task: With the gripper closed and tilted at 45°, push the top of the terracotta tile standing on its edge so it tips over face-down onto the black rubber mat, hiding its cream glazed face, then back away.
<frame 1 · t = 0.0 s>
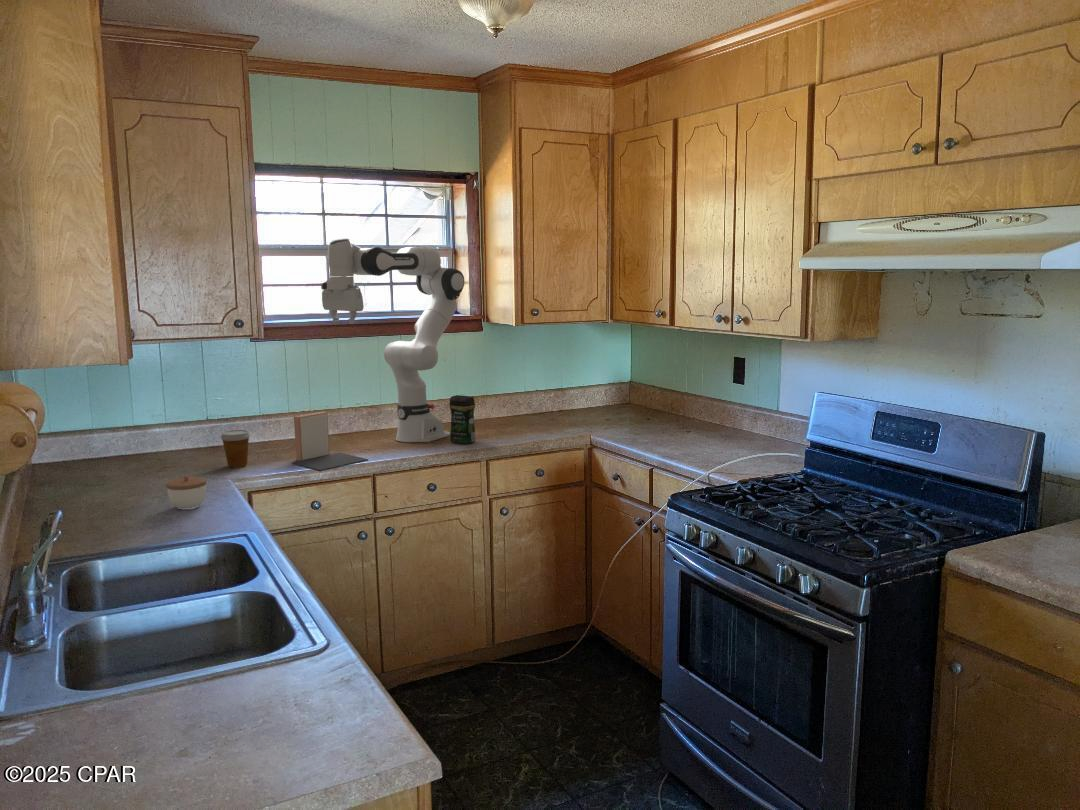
hand: (343, 323, 301), 48 cm above the countertop, tool pointing down, fingers open, 8 cm apart
disposable coffee cup: (237, 466, 290), on the countertop
tile: (313, 457, 302), on the countertop
lidded jar: (188, 507, 242), on the countertop
coffee jar: (463, 443, 325), on the countertop
mat: (330, 461, 295), on the countertop
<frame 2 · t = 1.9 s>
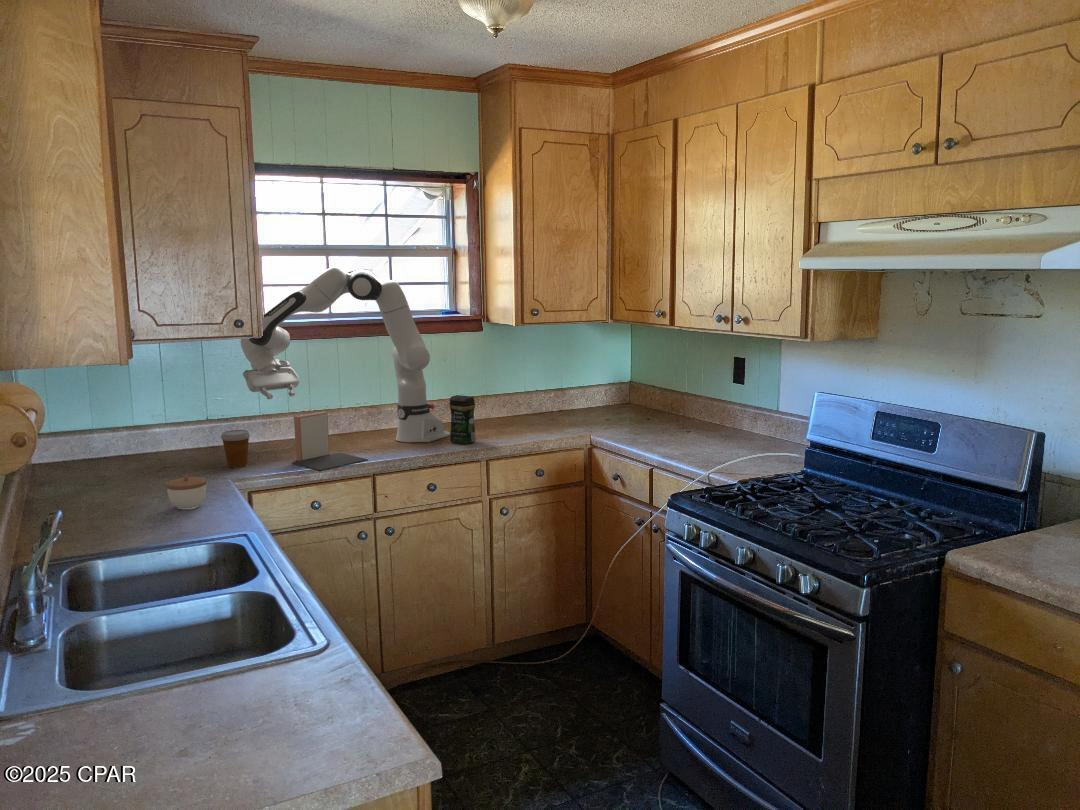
hand: (281, 396, 309), 21 cm above the countertop, tool tilted 45°, fingers open, 8 cm apart
nothing on the countertop moved.
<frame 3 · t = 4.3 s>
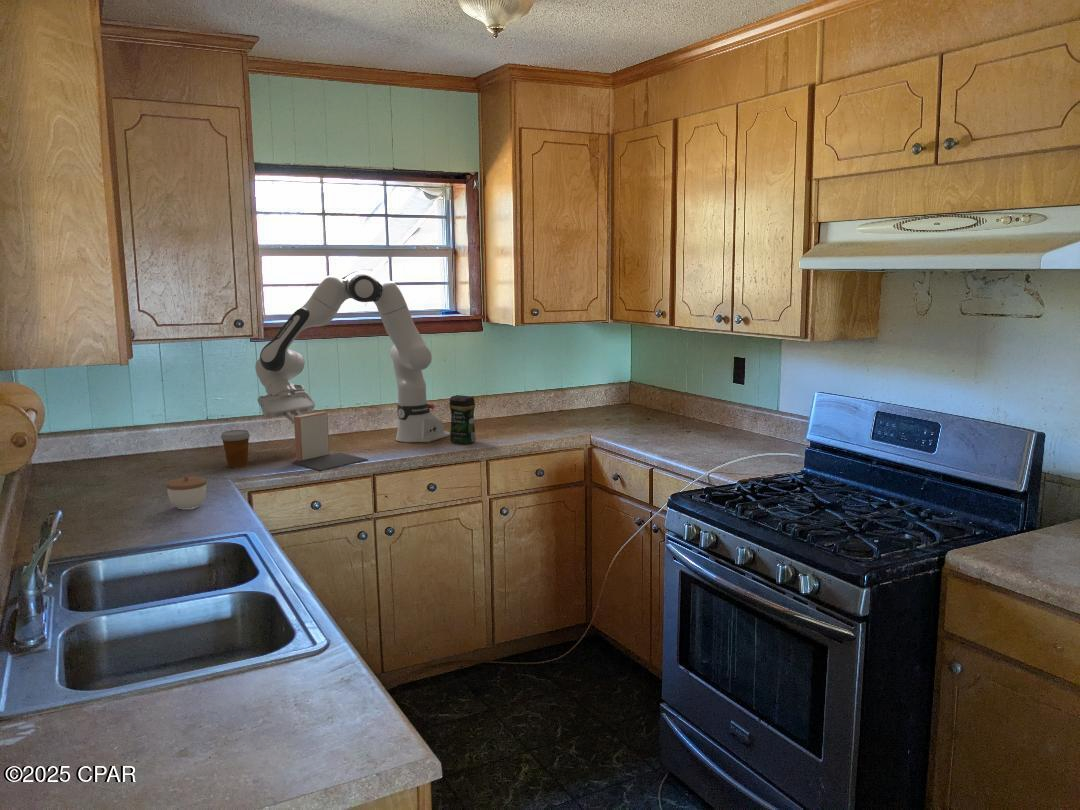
hand: (297, 422, 306), 12 cm above the countertop, tool tilted 45°, fingers closed
nothing on the countertop moved.
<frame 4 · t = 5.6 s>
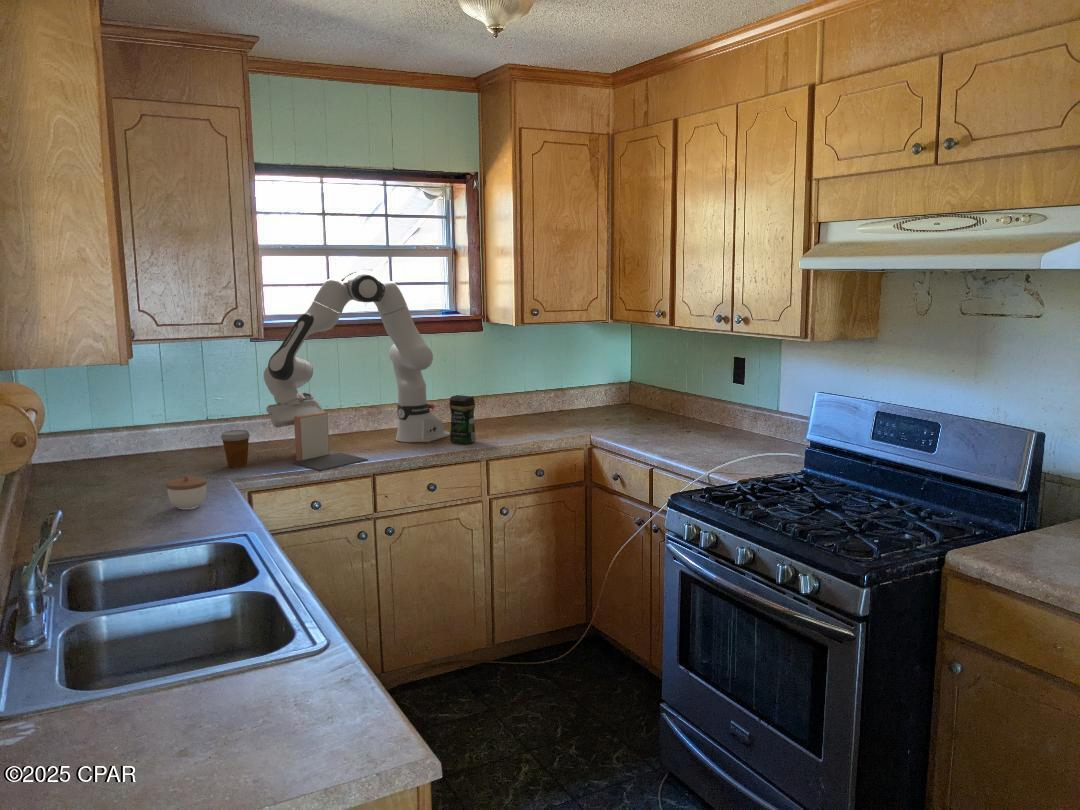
hand: (306, 431, 302), 9 cm above the countertop, tool tilted 45°, fingers closed
nothing on the countertop moved.
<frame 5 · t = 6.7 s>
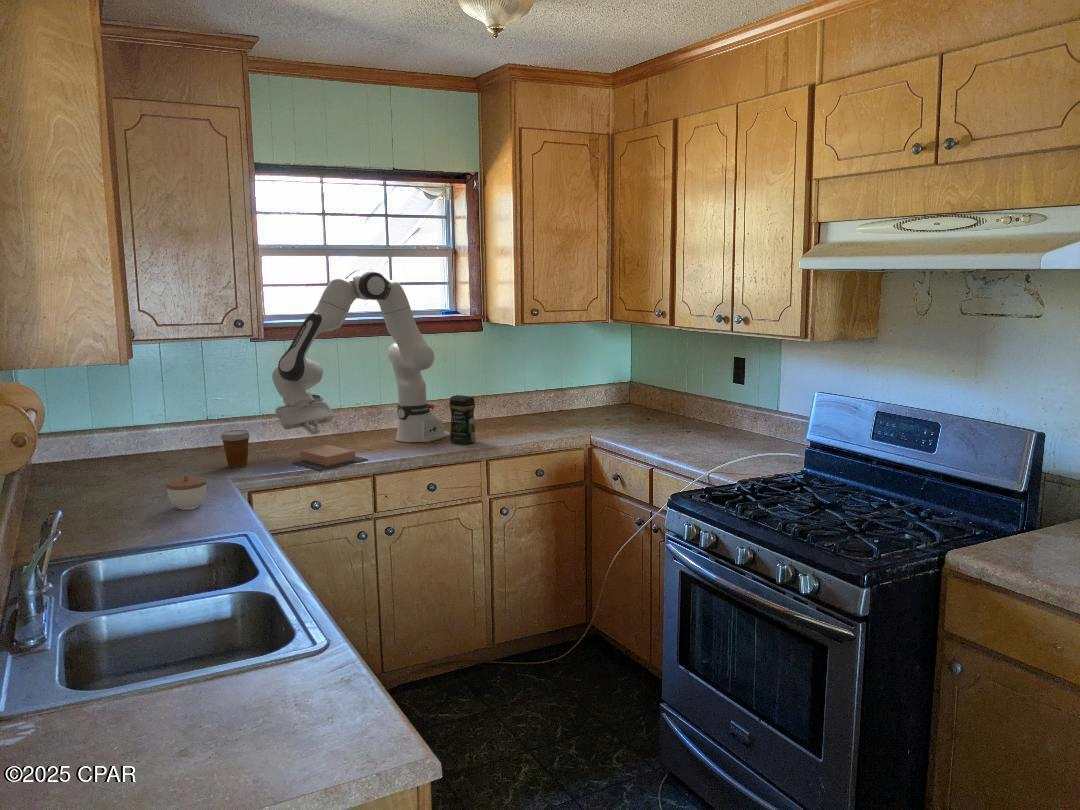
hand: (315, 433, 298), 9 cm above the countertop, tool tilted 45°, fingers closed
tile: (314, 451, 301), point 2 cm above the countertop, tilted 90°, touching mat
everything else where it was.
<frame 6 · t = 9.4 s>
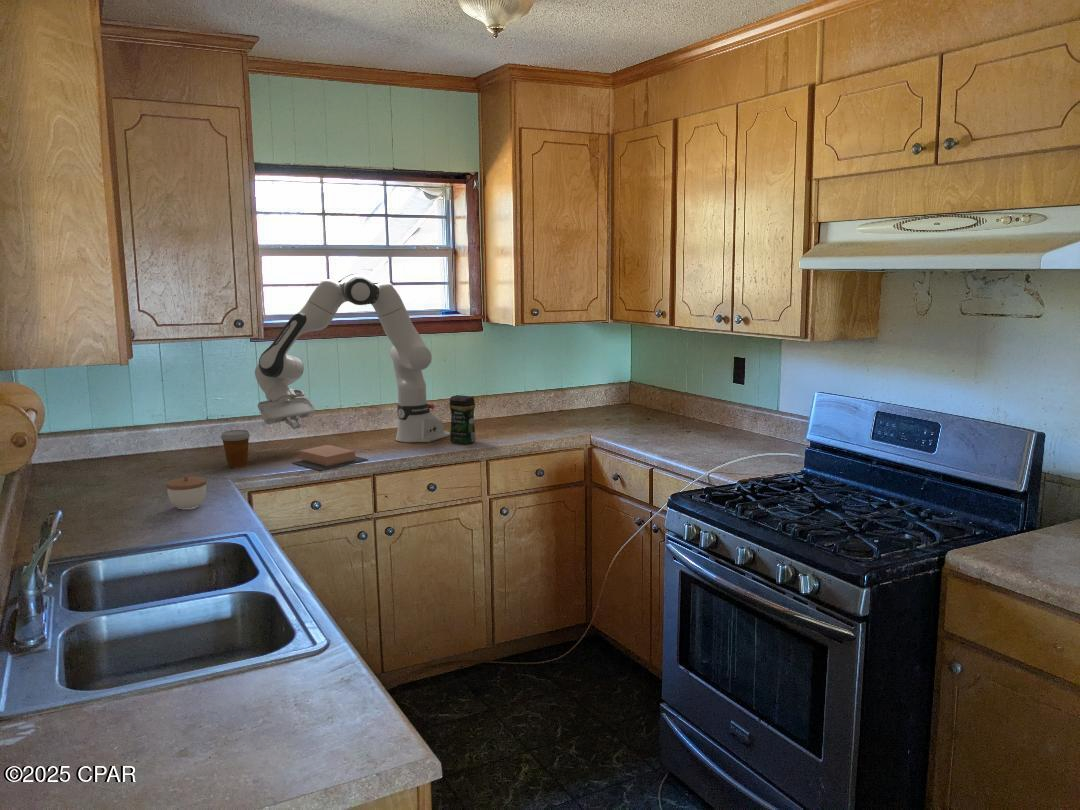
hand: (297, 427, 306), 10 cm above the countertop, tool tilted 45°, fingers closed
nothing on the countertop moved.
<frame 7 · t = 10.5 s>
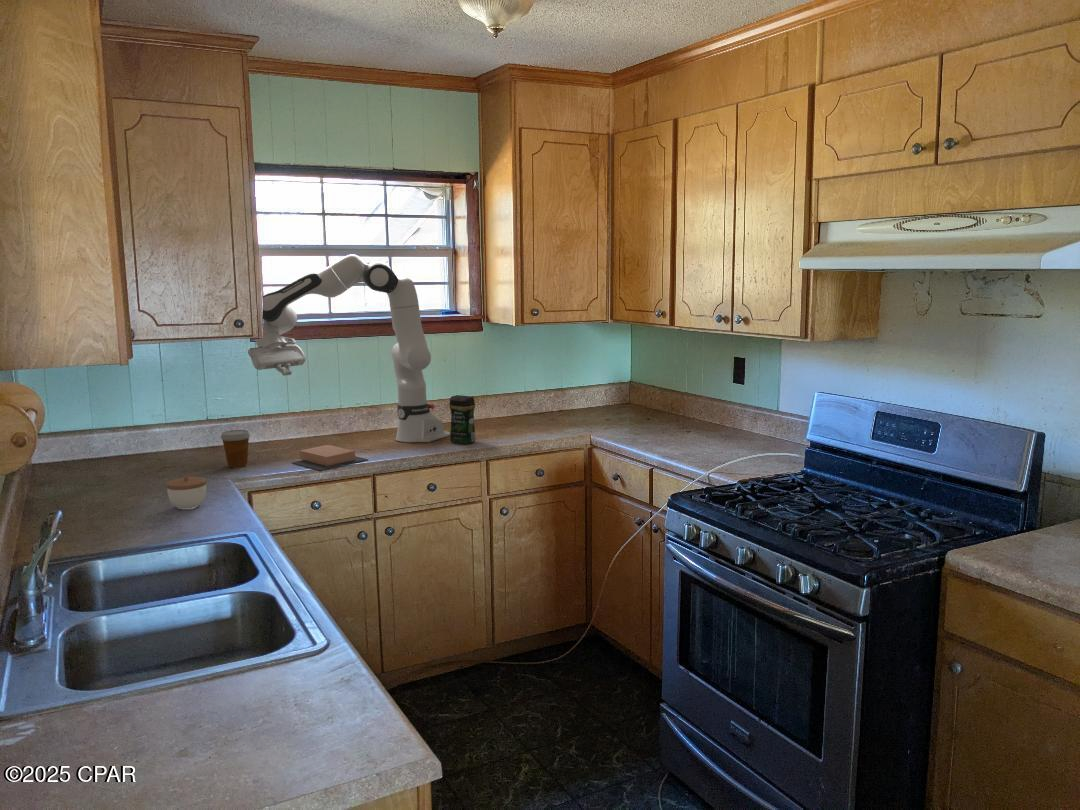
hand: (287, 374, 305), 29 cm above the countertop, tool tilted 45°, fingers closed
nothing on the countertop moved.
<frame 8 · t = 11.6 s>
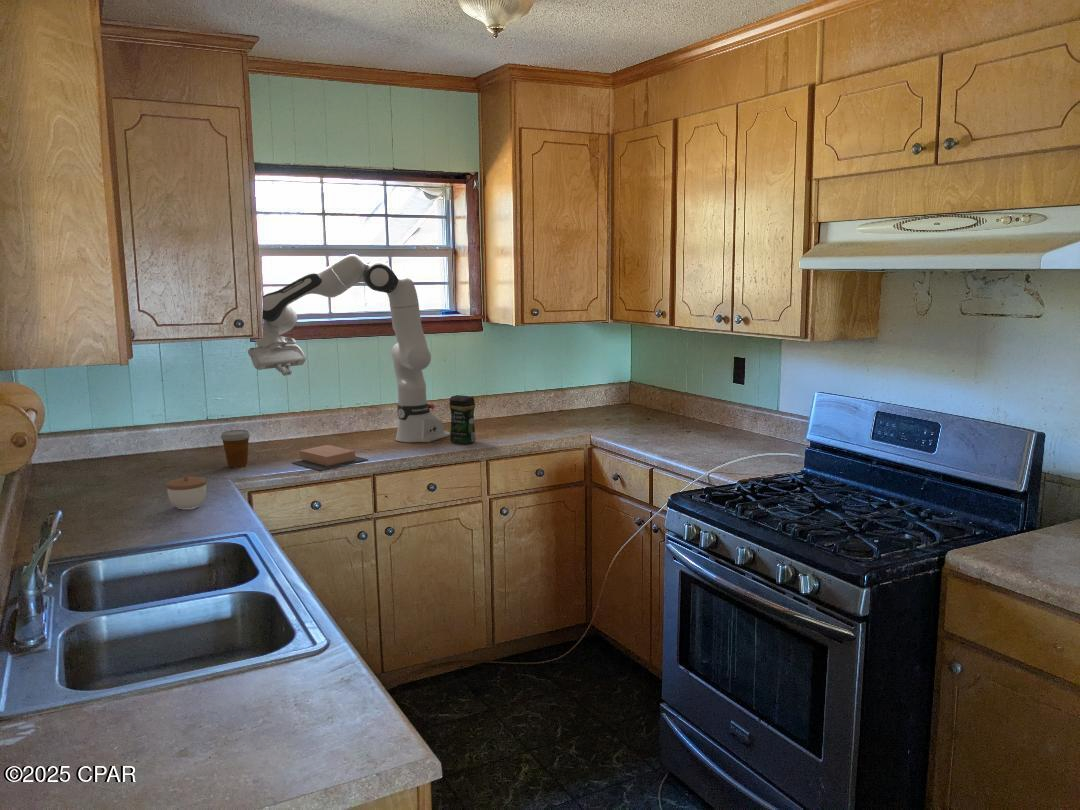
hand: (287, 374, 305), 29 cm above the countertop, tool tilted 45°, fingers closed
nothing on the countertop moved.
at the end: tile tilted 90°; tile touching mat; tile inside the target area (2.2 cm from its centre), point 2.3 cm above the countertop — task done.
